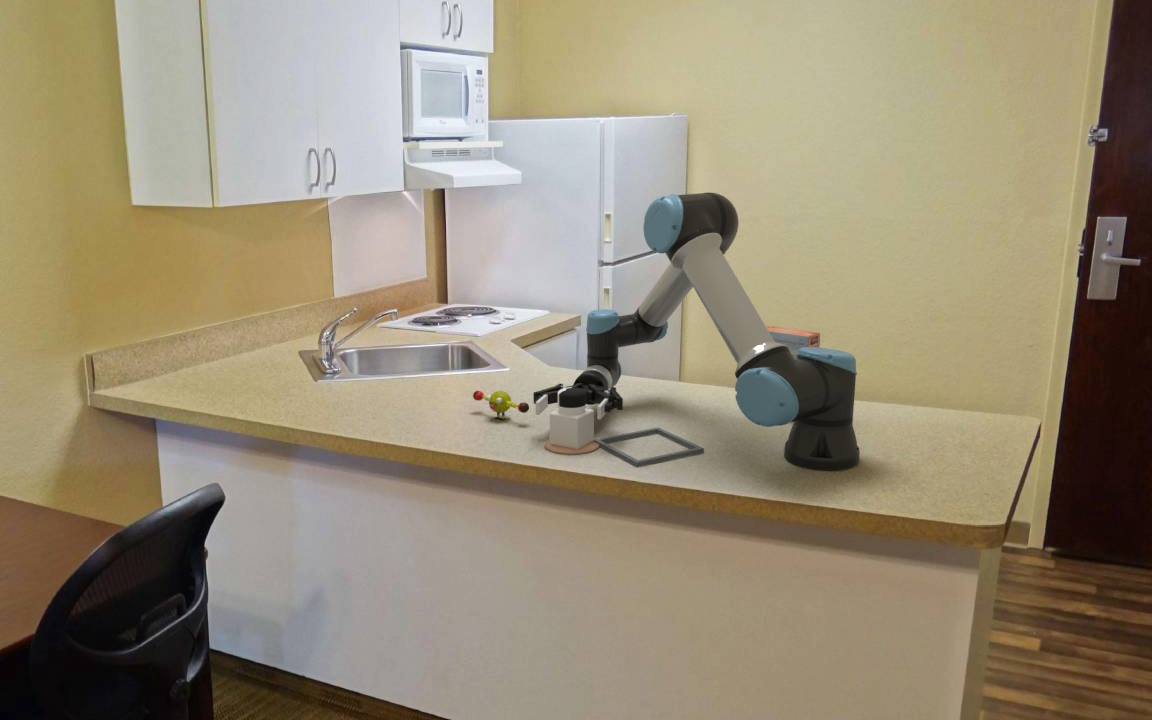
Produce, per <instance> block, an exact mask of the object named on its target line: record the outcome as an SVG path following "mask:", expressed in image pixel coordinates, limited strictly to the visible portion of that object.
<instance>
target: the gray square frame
mask: <svg viewBox="0 0 1152 720" xmlns="http://www.w3.org/2000/svg"><path fill="white" fill-rule="evenodd" d="M655 434H658V435H660V436H661V437H664V438H666V439H668V440H669V441H673V442H675V443H677V444H678V445H681V446H683V447H685V448H688V449H684V450H681V451H680V450H679V451H674V452H671V453H665V454H661V455H657V456H652V457H651V456H650V457H646V458H642V459H637V458H636V457H633V456H631V455H629V454H627V453H625V452H623V451H622V450H620V449H618V448H616V447H613V446H612V445H610V444H609V443H615V442H619V441H624V440H630V439H635V438H640V437H645V436H651V435H655ZM594 442H596V443H598V444H600V447H599V449H600V448H601V449H602V450H604V451H606V452H608V453H610V454H611V455H614V456H615V457H617V458H619V459H621V460H623V461H625V462H626V463H628V464H630V465H632V466H633V467H636V468H639V467H644V466H647V465H652V464H657V463H662V462H668V461H670V460H675V459H676V460H677V459H681V458H682V459H683V458H686V457H691V456H695V455H700V454H704V453H705V448H704V447H702V446H700V445H698V444H696V443H694V442H691V441H689V440H687V439H685V438H682V437H680V436H678V435H675V434H674V433H671V432H669V431H668V430H665V429H663V428H661V427H654V428H647V429H643V430H642V429H641V430H637V431H632V432H627V433H621V434H616V435H612V436H605V437H600V438H596V439H594Z"/></svg>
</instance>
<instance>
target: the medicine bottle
mask: <svg viewBox="0 0 1152 720" xmlns="http://www.w3.org/2000/svg"><path fill="white" fill-rule="evenodd" d="M594 414H595V411H594V409H591V408H587V404H586V392H585V391H584V390H582V389H580V388H575V387H568V388H565V387H564V388H563V389H561V390H559V391H558V403H557V410H554V411H552V412H550V413H549V438H550V444H551V445H556V446H562V447H567V448H572V449H579V448H581V447H583V446H585V445H586V444H588V443H590V442H592V441H593V440H594V438H595V415H594Z"/></svg>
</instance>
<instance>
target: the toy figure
mask: <svg viewBox="0 0 1152 720" xmlns="http://www.w3.org/2000/svg"><path fill="white" fill-rule="evenodd" d="M472 397H473V399H474V400H475V401H482V400H483V399H484V400H485V401H487V402H488V404H489V408H490V409H491V410H492V411H493V412H495V413H496V416H494V419H499V420H501V421H502V420H503V421H504V420H505V419H506V416H505V415H506V414H505V413H506V412H507V411H508V410H509V409H510V408H512V409H513V408H514V409H515V408H517V409H518V411H519V412H521V413H524V414H526V413H528V411H529V409H530V405H529V404H528V403H527V402H520V403H519V404H517V403H516V402H512V399H511V396H510V395H509V393H507V392H506V391H503V390H497V391H494V392H493V393H492V394H488V395H486V396H484V393H483V392H482V391H481V390H476V391H474V392H473V394H472ZM500 414H501V416H500Z"/></svg>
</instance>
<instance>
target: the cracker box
mask: <svg viewBox="0 0 1152 720" xmlns="http://www.w3.org/2000/svg"><path fill="white" fill-rule="evenodd" d="M765 326H766V327H767V329H768V331H769V332H770V334H771V336H772V337H773V339H774V341H775V342H776V343H779V344H784V345H786V346H787V347H788V349H789V351H790V352H791V354H792V356H793V357H794V359H795V360H797V357H796V356H797V354H798V350H799V349H800V348H802V347H817V348H820V345H821V343H820V342H821V333H820V332H817V331H809V330H804V329H803V330H802V329H797V328H788V327H782V326H774V325H765Z"/></svg>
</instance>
